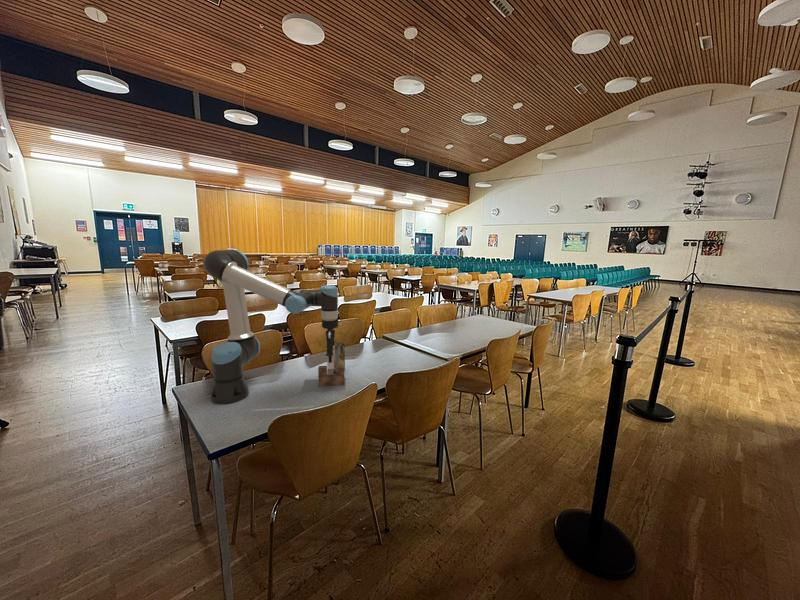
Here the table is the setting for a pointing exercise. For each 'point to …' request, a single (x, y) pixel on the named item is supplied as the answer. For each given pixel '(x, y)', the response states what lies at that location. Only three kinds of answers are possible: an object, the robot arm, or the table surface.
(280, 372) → the table surface
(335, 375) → the brown u-shaped block
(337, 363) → the coffee box
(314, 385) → the mat
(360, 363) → the table surface
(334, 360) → the oak plate
